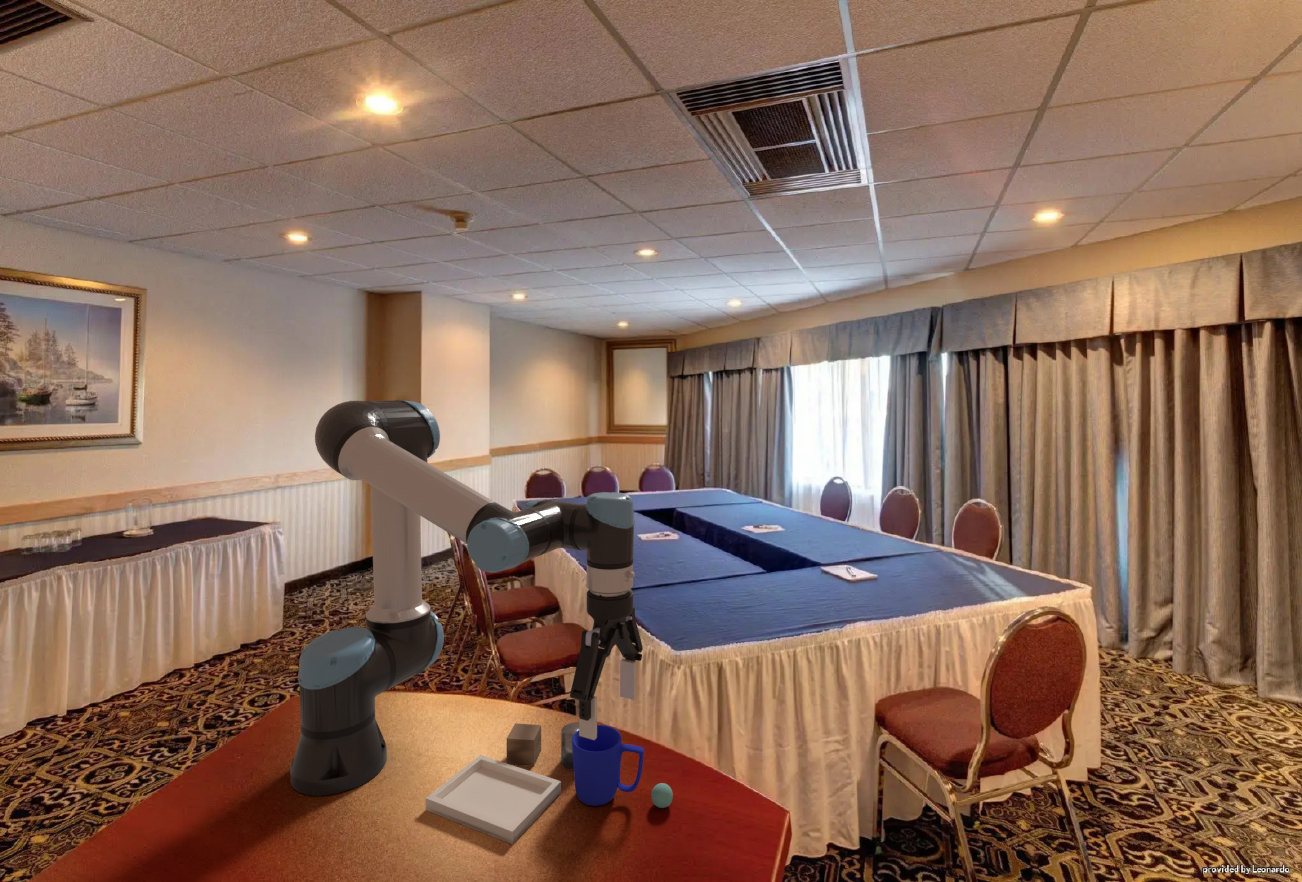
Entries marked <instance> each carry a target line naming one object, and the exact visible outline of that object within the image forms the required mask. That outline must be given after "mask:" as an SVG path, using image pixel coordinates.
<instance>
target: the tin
mask: <svg viewBox="0 0 1302 882" xmlns="http://www.w3.org/2000/svg"><path fill="white" fill-rule="evenodd" d="M578 730H579V722H569V723H567V724H565V725H563V727H562V728H561V731H560V732H561V733H560V734H561V736H560V737H561V739H560V741H561V742H560V749H561V750H560V763H561V764H560V765H561V766H562V767H563V769H564V768H565V769H566V770H570V771H574V764H573V751H572V737H573V735H574V734H575V733H576V732H577V731H578Z"/></svg>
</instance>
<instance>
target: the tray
mask: <svg viewBox="0 0 1302 882" xmlns="http://www.w3.org/2000/svg"><path fill="white" fill-rule="evenodd" d="M561 793H562V782H561V780H558V779H555V778H552V777H549V776H545V775H542V774H540V773H537V772H533V771H531V770H528V769H524V768H522V767H518V766H517V765H510V764H507V762H504V761H501V760H497V759H494V758H492V757H489V756H485V755H482V754H479V755H478V756H477V757H476V758H474V759H473V760H471V762H469V763H468V764H467V765H466V766H464V767H463V768H462V769H460V770H459V771H458V772H457V773H455V774H454V775H453V776H452V777H450V778H449V779H448V780H447V781H445V782H444V783H443V784H442V785H440V786H439V787H438V788H437V789H434V791H432V792H431V793H430V794H429V795H427V797H425V811H427V812H430V813H432V814H435V815H438V816H440V817H442V818H445V819H447V820H449V821H451V822H455V823H457V824H460V825H461V826H462V825H463V826H465V827H468V828H470V829H473V830H474V831H477V832H480V833H482V834H485V835H488V836H490V837H493V838H495V839H498V840H500V841H503V842H505V843H508V844H511V845H514V843H516V841H517V840H518V839H520V837H521V836H522V835H523V834H524V833H525V832H526V831H527V829H529V828H530V826H531V825H532V824H533V823H534V822H535V821H536V820H537V819H538V818H539V817H540V816H541V814H542V813H544V812H545V811H546V809H547V808H548V807H549V806H550V805H551V804H552V803H553V802H554V800H555V799H557V798H558V797H559V795H560V794H561Z"/></svg>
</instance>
